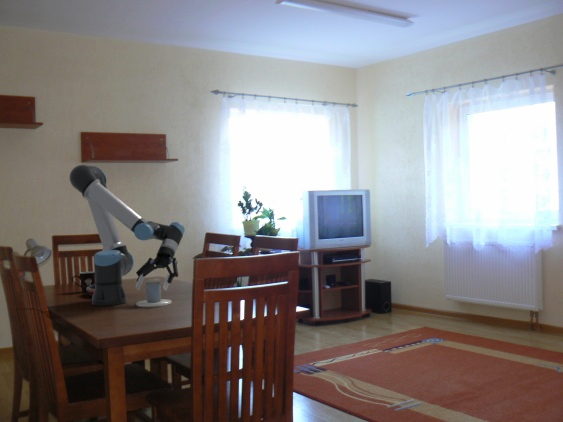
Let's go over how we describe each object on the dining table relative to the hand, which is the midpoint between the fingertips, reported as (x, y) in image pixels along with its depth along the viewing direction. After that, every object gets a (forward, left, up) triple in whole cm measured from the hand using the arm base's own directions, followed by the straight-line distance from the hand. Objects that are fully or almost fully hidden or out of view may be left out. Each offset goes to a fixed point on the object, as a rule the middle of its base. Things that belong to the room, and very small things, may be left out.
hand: (150, 288), depth 263 cm
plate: (+2, +1, -7) cm, 8 cm away
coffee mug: (-12, +69, -7) cm, 71 cm away
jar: (+2, +2, -6) cm, 7 cm away
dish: (-8, +50, -8) cm, 52 cm away
